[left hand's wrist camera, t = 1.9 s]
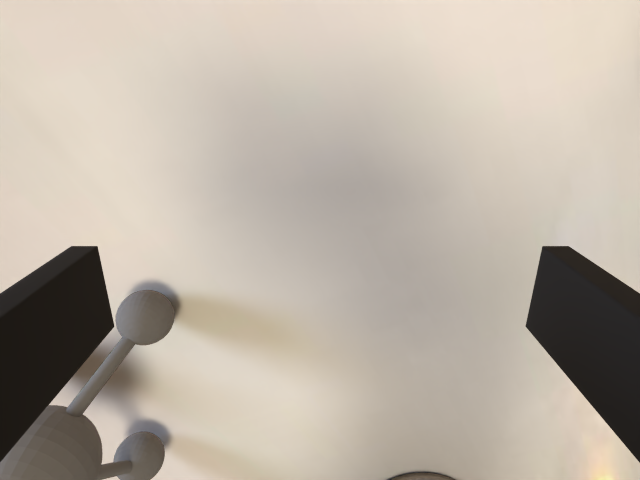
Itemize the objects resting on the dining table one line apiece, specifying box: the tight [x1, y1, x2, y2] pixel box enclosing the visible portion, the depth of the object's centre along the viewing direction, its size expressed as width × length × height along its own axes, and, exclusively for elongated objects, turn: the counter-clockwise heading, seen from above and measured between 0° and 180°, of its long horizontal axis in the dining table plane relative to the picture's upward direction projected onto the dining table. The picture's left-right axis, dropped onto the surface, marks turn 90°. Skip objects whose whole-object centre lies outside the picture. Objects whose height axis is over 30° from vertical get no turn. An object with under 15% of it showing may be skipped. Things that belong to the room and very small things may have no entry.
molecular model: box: [0, 290, 174, 480], centre depth 33 cm, size 24×22×30 cm
